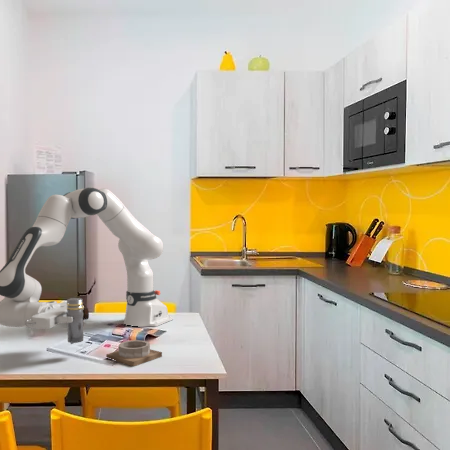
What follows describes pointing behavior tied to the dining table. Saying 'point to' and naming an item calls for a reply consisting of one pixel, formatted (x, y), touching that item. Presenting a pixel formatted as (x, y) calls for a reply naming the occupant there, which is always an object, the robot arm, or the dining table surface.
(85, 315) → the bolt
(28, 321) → the robot arm
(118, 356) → the collar plate
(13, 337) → the dining table surface
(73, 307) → the cylinder
